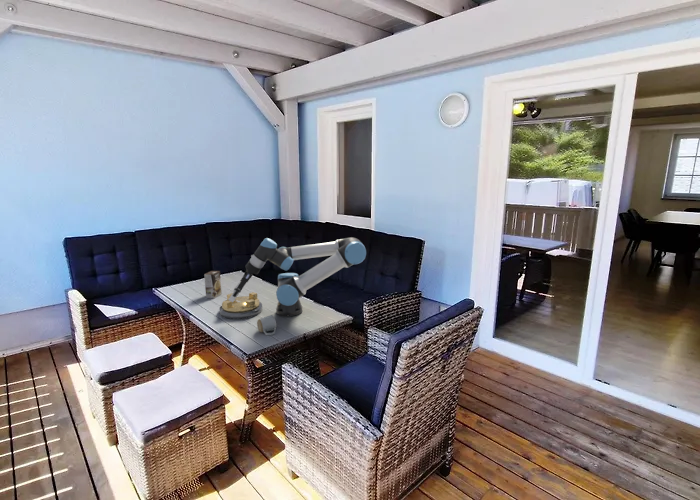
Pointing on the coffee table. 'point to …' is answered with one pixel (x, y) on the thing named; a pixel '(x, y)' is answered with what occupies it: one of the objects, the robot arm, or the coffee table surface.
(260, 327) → the ceramic mug
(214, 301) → the coffee table surface
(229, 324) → the coffee table surface
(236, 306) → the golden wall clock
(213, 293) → the printed cardboard box
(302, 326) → the coffee table surface
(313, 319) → the coffee table surface
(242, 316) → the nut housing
